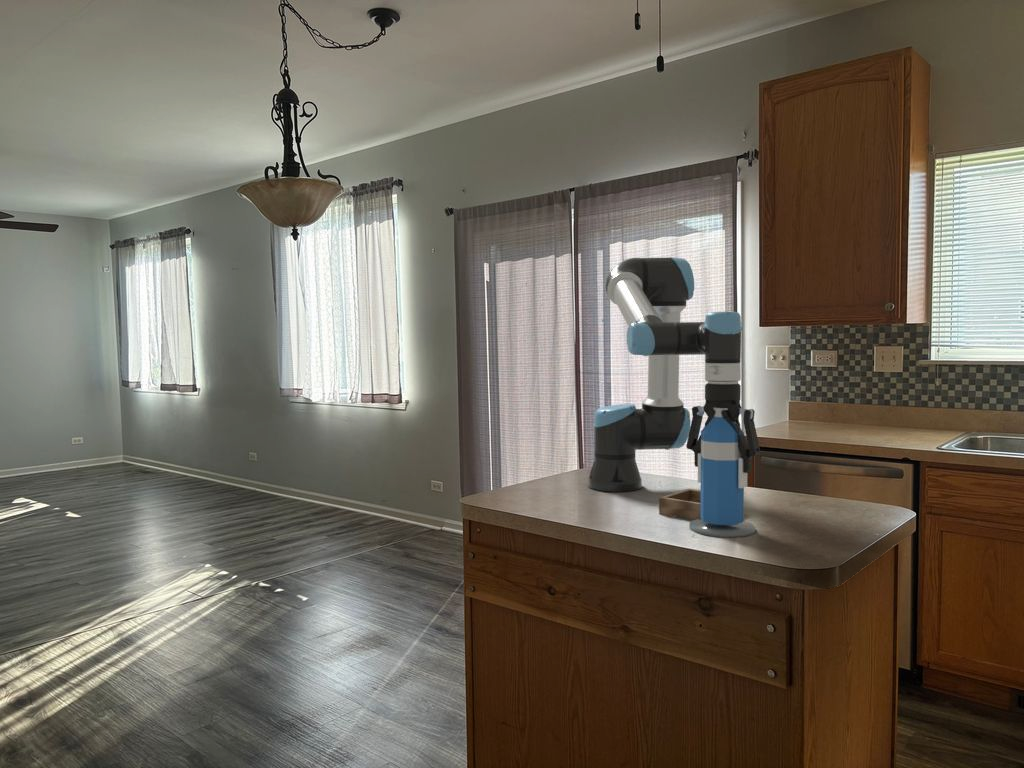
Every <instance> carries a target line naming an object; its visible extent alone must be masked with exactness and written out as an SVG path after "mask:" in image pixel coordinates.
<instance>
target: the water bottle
mask: <svg viewBox="0 0 1024 768" xmlns="http://www.w3.org/2000/svg"><path fill="white" fill-rule="evenodd" d="M713 409H714V410H715V412H716V413H715V415H714V417H713V418H712V420H711V421H710V422H709V423H708V424H707V425H706V426H705V425H704V427H703V428H702V429H701V430H700V435H701V483H700V490H701V519H702V521H703V522H707V523H711V524H716V525H736V524H739V523H743V522H744V519H745V518H744V513H745V511H744V509H745V508H744V506H745V503H744V502H745V500H744V499H745V487H744V488H738V464H739V458H740V457H742V455H741V453H740V450H739V448H738V434H737V432H736V431H735V429H734V428H733V427H732V426H731V425H730V424H729V423H728V422H727V421H726V420H725V419H724V418H723V416H722V414H721V411H722V410H728V408H714V407H713ZM733 424H737V423H736V421H734V422H733ZM739 435H743V436H745V431H743V430H742V428H741V427H740V430H739Z"/></svg>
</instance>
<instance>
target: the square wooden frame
mask: <svg viewBox="0 0 1024 768" xmlns="http://www.w3.org/2000/svg"><path fill="white" fill-rule="evenodd" d="M658 504H659V505H658V515H662V514H664V515H663V516H668V515H669V516H668V517H673V516H674V518H680V519H685V520H689V521H690V520H691V521H693V520H696V519H701V489H696V488H695V489H694V488H686V489H683V490H680V491H676V492H673V493H670V494H666V495H664V496H660V497H659V498H658Z"/></svg>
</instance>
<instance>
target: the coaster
mask: <svg viewBox="0 0 1024 768" xmlns="http://www.w3.org/2000/svg"><path fill="white" fill-rule="evenodd" d="M688 529H689V530H690V531H691V532H694V533H696V534H699V535H703V536H707V537H712V538H713V537H714V538H715V537H716V538H727V539H728V538H742V537H743V538H744V536H745V537H749V536H752V535H754V534H755V533H756V526H755V525H754V524H752V523H750V522H749V521H744V522H743V523H739V524H736V525H716V524H711V523H707V522H703V521H702V519H696V520H691V521H689V528H688Z"/></svg>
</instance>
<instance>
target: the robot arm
mask: <svg viewBox="0 0 1024 768" xmlns="http://www.w3.org/2000/svg"><path fill="white" fill-rule="evenodd" d="M694 277H695V276H694V273H693V269H692V266H691V265H690V263H689V261H688V260H686V259H685V258H681V257H671V256H668V257H632V258H627V259H625V260H622V261H620V262H619V263H617V264H616V265H615V266H613V267H612V269H611V270H610V272H609V273H608V274H607V276H606V281H605V292H606V294H607V297H608V298H609V300H610V301H611V303H613V304H615V305H616V306H617V307H618V310H620V313H621V315H622V317H623V319H624V320H625V322H626V325H627V330H626V344H627V345H626V346H627V350H628V352H629V353H630V354H631V355H634V356H644V357H648V358H647V359H648V362H647V363H648V366H647V367H648V368H647V369H648V370H647V396H646V398H645V399H643V400H642V402H641V408H637V407H636V405H635V404H633V403H622V404H613V405H609V406H607V405H606V406H603V407H600V408H598V409H596V411H595V413H594V419H593V420H594V422H593V427H594V428H593V430H594V431H593V433H594V437H593V439H594V449H593V450H594V451H593V453H594V456H593V457H594V460H593V463H592V467H591V469H590V473H589V477H588V481H587V482H588V487H589V488H590V489H591V490H597V491H600V492H601V491H603V492H631V491H637V490H640V489H641V488H642V484H643V483H642V482H643V481H642V477H641V474H640V470H639V467H638V463H637V461H636V451H637V450H643V451H644V450H665V451H667V450H670V449H671V450H672V449H674V450H675V449H680V448H682V447H684V446H685V444H686V449H687V450H691V451H692V452H693V453H694V463H693V464H694V467H695V468H697V483H700V484H701V434H700V433H701V427H702V422H703V416H704V415H705V414H706V416H707V419H706V420H705V422H704V427H705V426H706V425H707V424H708V423H709V422H710V421H711V420H712V418H713V417H714V415H715V413H716V412H715V410H714V409H713V407H714V408H728V410H722V411H721V414H722V416H723V418H724V419H725V420H726V421H727V422H728V423H729V424H730V425H731V426H732V427H733V428H734V429H735V431H736V432H737V434H738V448H739V450H740V453H741V455H742V457H740V458H739V464H738V488H744V489H745V488H747V487H748V473H751V471H752V457H755V456H758V455H760V454H761V447H760V442H759V439H758V434H757V430H756V425H755V410H754V409H753V408H751V409H747V408H744V407H743V408H742V406H741V399H742V397H741V395H742V394H741V392H742V391H741V390H742V389H741V385H740V383H739V382H740V381H741V380H742V377H741V376H742V373H741V372H742V371H741V370H742V369H741V361H742V360H741V357H742V354H741V353H742V332H743V331H742V330H743V327H742V319H741V318H742V317H741V314H740V313H739V312H737V311H709V312H707V313H706V314H705V320H704V321H700V322H699V321H695V322H694V321H690V322H689V321H686V322H685V321H684V322H682V321H681V313H682V312H683V311H684V310H685V309H686V307H687V301H690V300H691V299H693V297H694V291H695V278H694ZM682 355H683V356H690V355H691V356H692V355H693V356H694V355H696V356H697V355H698V356H699V355H700V356H702V355H704V357H705V358H704V361H705V363H704V379H705V381H706V382H707V383H706V384H704V399H705V403H704V404H703V405H696V406H693V407H692V408H691V412H692V413H691V414H692V415H691V414H690V411H689V409H687V408H686V407H684V402H683V400H682V399H680V397H679V383H680V382H679V380H680V379H679V377H680V356H682ZM740 415H741V418H742V419H743V426H744V430H745V431H744V433H745V435H746V437H745V435H744V436H743V435H739V430H740V428H741V424H740V420H739V419H738V418H739V417H740ZM691 416H692V418H691ZM734 421H736V423H737V424H733V422H734Z"/></svg>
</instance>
